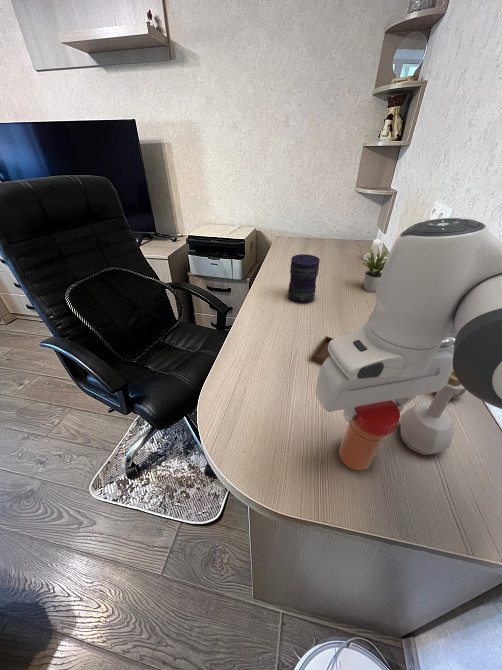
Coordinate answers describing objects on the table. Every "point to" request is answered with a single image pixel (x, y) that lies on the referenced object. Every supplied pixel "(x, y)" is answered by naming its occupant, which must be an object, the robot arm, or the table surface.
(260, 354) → the table surface
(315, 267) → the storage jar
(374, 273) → the house plant
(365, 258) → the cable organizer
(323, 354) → the tray
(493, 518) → the table surface
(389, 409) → the jar lid
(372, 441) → the jar
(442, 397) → the potion bottle
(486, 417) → the table surface
